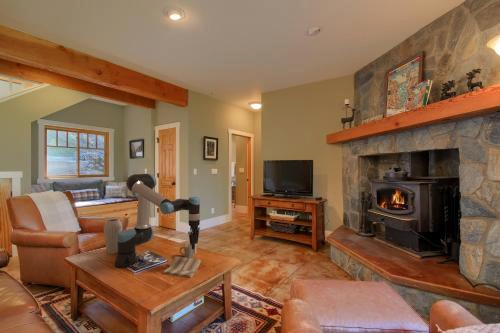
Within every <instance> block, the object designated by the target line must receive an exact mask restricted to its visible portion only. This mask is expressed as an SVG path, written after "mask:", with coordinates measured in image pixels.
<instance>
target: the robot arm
mask: <svg viewBox="0 0 500 333" xmlns="http://www.w3.org/2000/svg"><path fill="white" fill-rule="evenodd" d="M125 185H126V188H127V190H128V191H130V192H131V193H133V194H137V213H136V216H137V217H136V224H135V225H134V227H133V228H134V229H133V228H130V229H125V230H122V232H120V233H119V234H118V239H117V241H118V250H117V253H116V256H115V260H114V267H115V268H118V269H124V268H129V267H128V266H130V265H133V264H135V263H137V262H138V263H139V258H138V256H137V252H136V249H137V248H136V247H137V246H140V245H143V244H146V243H147V242H150V241H151V240H152V239H153V237H154V233H155V232H154V230H153V227H152V226H151V224H150V207H151V204H153V205H154V206H156V207H158V208H159V210H160V211H161V212H160V213H161V214H163V215H170V214H173V213H176V212H180V211H188V226H189V227H190V228H189V231H188V232H187V234H188V240H189V244H192V254H194V255H195V254H197V245H198V243H199V234H200V229H201V227H199V226H200V224H201V223H200V220H201V219H200V217H201V214H200V211H201V209H200V207H201V206H200V205H201V202H200V197H198V196H190V197H189V198H188V199H185V198H176V199H175V200H170V199H168V198H167V197H165V196H164V195H162V194H160V193H159V192H157V191H155V190H154V188H156V186H157V178H156V176H155V175H154V174H151V173H139V174H137V173H136V174H135V173H134V174H131V175H130V176H128V177H127V178H126V183H125ZM138 263H137V264H138ZM135 265H136V264H135Z"/></svg>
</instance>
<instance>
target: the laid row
mask: <svg viewBox="0 0 500 333" xmlns="http://www.w3.org/2000/svg"><path fill="white" fill-rule="evenodd" d="M162 273H163V275H169V276H176V277H181V278H182V277H183V278H189V279H191V278H192V277H193V276H194V275H195V274H196V273H195V272H193V271H187V270H183V269H182V270H180V269H173V268H169V267H167V268H166V269H164V270H163V272H162Z"/></svg>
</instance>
